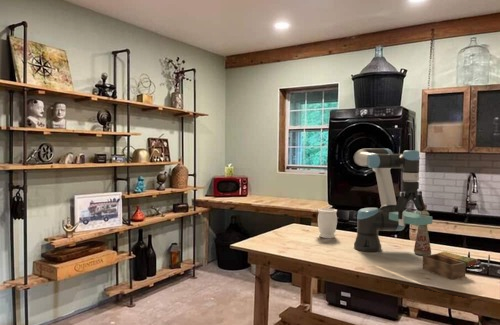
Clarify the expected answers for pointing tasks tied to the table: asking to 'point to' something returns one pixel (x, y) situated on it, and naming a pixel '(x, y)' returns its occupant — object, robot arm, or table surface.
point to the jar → (327, 222)
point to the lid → (412, 218)
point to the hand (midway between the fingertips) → (409, 224)
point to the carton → (459, 258)
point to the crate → (444, 266)
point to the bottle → (422, 238)
